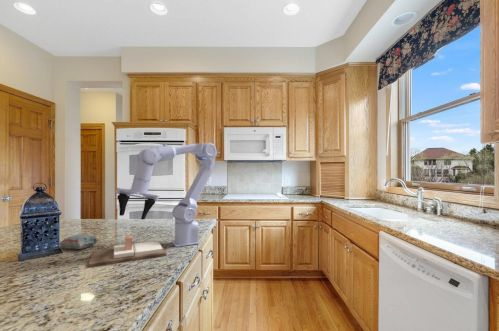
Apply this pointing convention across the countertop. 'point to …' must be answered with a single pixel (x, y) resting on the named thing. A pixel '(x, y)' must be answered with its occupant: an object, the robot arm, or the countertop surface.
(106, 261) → the board
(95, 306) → the countertop surface
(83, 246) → the packaged food
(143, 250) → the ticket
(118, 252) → the stub
